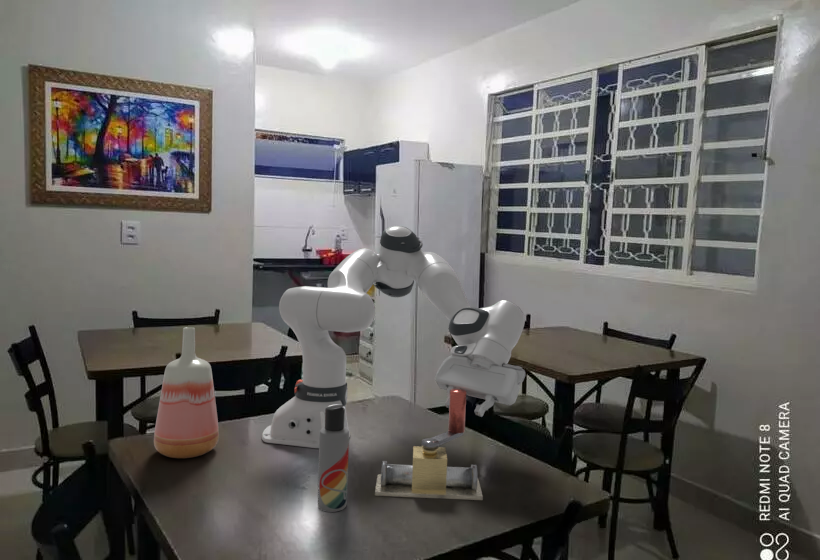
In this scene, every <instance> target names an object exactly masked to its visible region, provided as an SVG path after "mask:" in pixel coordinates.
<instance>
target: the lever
mask: <svg viewBox="0 0 820 560" xmlns="http://www.w3.org/2000/svg"><path fill="white" fill-rule="evenodd" d="M466 405H467V395H466V391H465V390H462V389H452V390H450V406H449V408H448V411H449V412H448V430H447V431H444V432H443V433H440V434H437V435H435V436H433V437H428V438H423V439H421V447H422V448H424V449H428V450H435V449H438V448H439V447H440V446H442V445H444V444H446V443H449V442H451V441H453V440H456V439H458V438H460V437H462V436H464V433H465V429H466Z"/></svg>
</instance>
